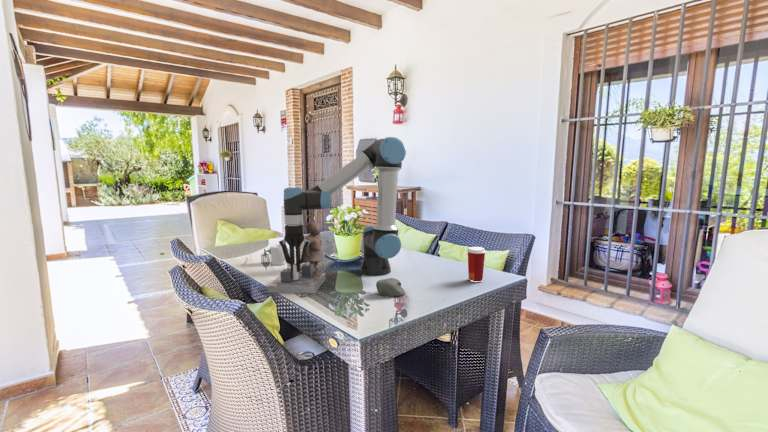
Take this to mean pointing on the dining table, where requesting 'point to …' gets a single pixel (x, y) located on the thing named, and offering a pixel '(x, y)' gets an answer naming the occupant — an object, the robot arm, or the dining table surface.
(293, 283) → the switch unit
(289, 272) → the slider near
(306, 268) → the block
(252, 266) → the dining table surface
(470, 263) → the beer glass
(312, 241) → the clay figurine
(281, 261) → the mug
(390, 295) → the stone
